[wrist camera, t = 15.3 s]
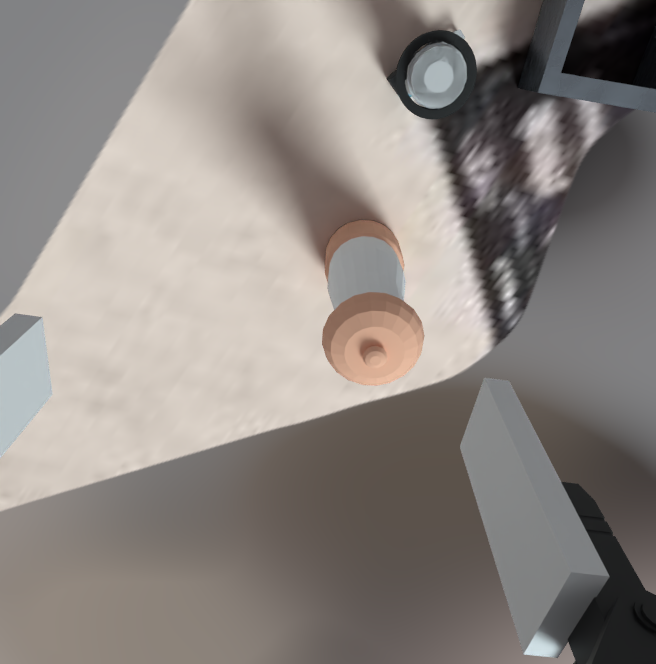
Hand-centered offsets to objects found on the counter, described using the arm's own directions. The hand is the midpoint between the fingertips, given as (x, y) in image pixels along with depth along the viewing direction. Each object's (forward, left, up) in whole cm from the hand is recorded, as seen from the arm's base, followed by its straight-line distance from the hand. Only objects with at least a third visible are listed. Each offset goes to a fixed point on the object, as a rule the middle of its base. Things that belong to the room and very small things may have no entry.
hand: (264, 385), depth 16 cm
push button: (-9, +8, -35) cm, 37 cm away
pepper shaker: (+8, +6, -35) cm, 36 cm away
